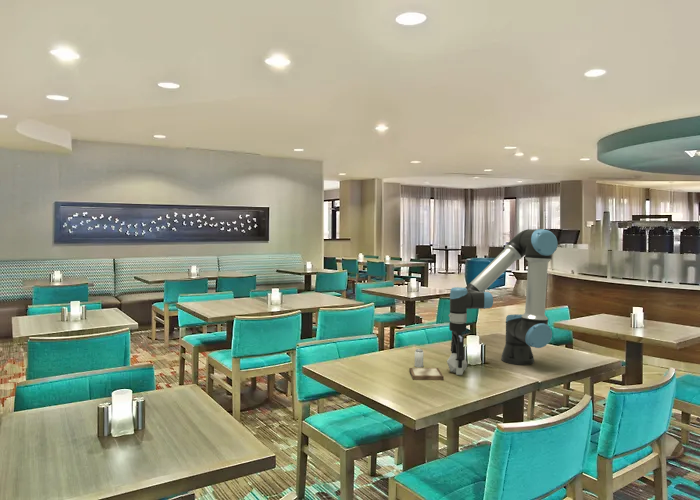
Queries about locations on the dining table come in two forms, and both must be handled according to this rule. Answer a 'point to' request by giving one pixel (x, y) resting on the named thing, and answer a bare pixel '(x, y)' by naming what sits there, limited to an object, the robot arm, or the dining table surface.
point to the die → (452, 363)
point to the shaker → (419, 358)
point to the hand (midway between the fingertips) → (456, 371)
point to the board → (426, 374)
